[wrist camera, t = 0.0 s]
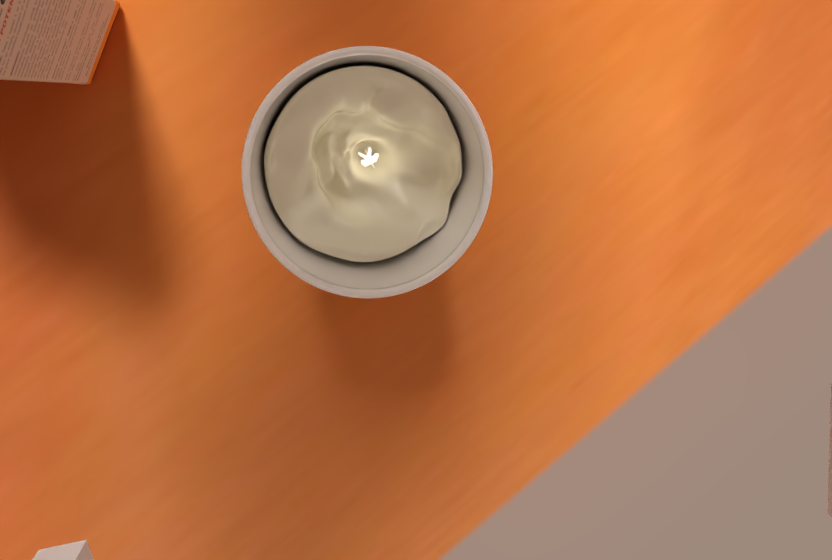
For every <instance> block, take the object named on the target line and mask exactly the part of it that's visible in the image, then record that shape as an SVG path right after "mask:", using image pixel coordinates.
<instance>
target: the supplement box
mask: <svg viewBox="0 0 832 560" xmlns="http://www.w3.org/2000/svg"><path fill="white" fill-rule="evenodd" d="M119 7H120V3H119V2H117V1H115V0H0V80H20V81H38V82H56V83H73V84H90V83H91V81H92V77H93V75H94V72H95V70H96V67H97V64H98V62H99V59H100V56H101V54H102V51H103V48H104V46H105V43H106V40H107V38H108V35H109V32H110V30H111V27H112V24H113V22H114V20H115V17H116V14H117V12H118V9H119Z"/></svg>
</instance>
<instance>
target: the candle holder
mask: <svg viewBox="0 0 832 560" xmlns="http://www.w3.org/2000/svg"><path fill="white" fill-rule="evenodd" d="M241 176H242V188H243V194H244V199H245V203H246V207H247V210H248V213H249V216H250V219H251V221H252V223H253V226H254V228H255V230H256V232H257V233H258V235H259V237H260V238H261V240H262V242H263V243H264V245H265V246H266V247H267V249H268V250H269V251H270V252H271V254H272V255H273V256H274V257H275V258H276V259H277V260H278V261H279V262H280V263H281V264H282V265H283V266H284V267H285V268H286V269H288V270H289V271H290V272H291V273H293V274H294V275H295V276H297V277H298V278H300V279H301V280H303V281H305V282H307V283H308V284H310V285H312V286H314V287H317V288H319V289H321V290H324V291H327V292H330V293H333V294H337V295H341V296H346V297H352V298H384V297H390V296H395V295H399V294H403V293H406V292H409V291H412V290H414V289H417V288H419V287H421V286H423V285H425V284H427V283H429V282H431V281H432V280H434V279H436V278H437V277H439V276H440V275H441V274H443V273H444V272H445V271H447V270H448V269H449V268H450V267H451V266H452V265H453V264H454V263H456V262H457V261H458V259H459V258H460V257H461V256H462V255H463V254H464V253H465V251H466V250H467V249H468V247H469V246H470V245H471V243H472V242H473V240H474V239H475V237H476V235H477V233H478V231H479V229H480V227H481V225H482V223H483V221H484V218H485V215H486V213H487V209H488V206H489V202H490V197H491V192H492V183H493V162H492V154H491V148H490V143H489V140H488V136H487V133H486V130H485V127H484V125H483V122H482V120H481V118H480V116H479V114H478V112H477V110H476V109H475V107H474V105H473V104H472V102H471V101H470V99H469V98H468V96H467V95H466V94H465V93H464V91H463V90H462V89H461V88H460V87H459V86H458V85H457V84H456V83H455V82H454V81H453V80H452V79H451V78H450V77H449V76H448V75H447V74H445V73H444V72H443V71H441V70H440V69H439V68H437V67H436V66H434V65H433V64H431V63H429V62H427V61H426V60H424V59H422V58H420V57H417V56H415V55H413V54H410V53H407V52H404V51H401V50H397V49H393V48H388V47H381V46H352V47H345V48H340V49H336V50H332V51H329V52H326V53H323V54H320V55H318V56H316V57H313V58H311V59H309V60H307V61H306V62H304V63H302V64H301V65H299V66H297V67H296V68H295V69H293V70H292V71H290V72H289V73H288V74H287V75H286V76H284V77H283V78H282V79H281V80H280V81H279V82H278V83H277V84H276V85H275V86H274V87H273V88H272V90H271V91H270V92H269V93H268V94H267V96H266V97H265V99H264V100H263V101H262V103H261V105H260V106H259V108H258V110H257V111H256V113H255V115H254V117H253V120H252V122H251V124H250V127H249V130H248V133H247V136H246V139H245V144H244V148H243V155H242V167H241Z"/></svg>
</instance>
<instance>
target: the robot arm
mask: <svg viewBox="0 0 832 560" xmlns="http://www.w3.org/2000/svg"><path fill="white" fill-rule="evenodd" d="M830 409H831V410H830V411H831V412H830V445H829V484H828V514H829V515H830V516H832V383H831V408H830ZM33 560H94V559H93V556H92V554H91V551H90V548H89V545H88V542H87V540H83V541H78V542H73V543H69V544H64V545H59V546H54V547H50V548H45V549H40V550H38V552H37V553H36V555H35V557H34V558H33Z"/></svg>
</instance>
